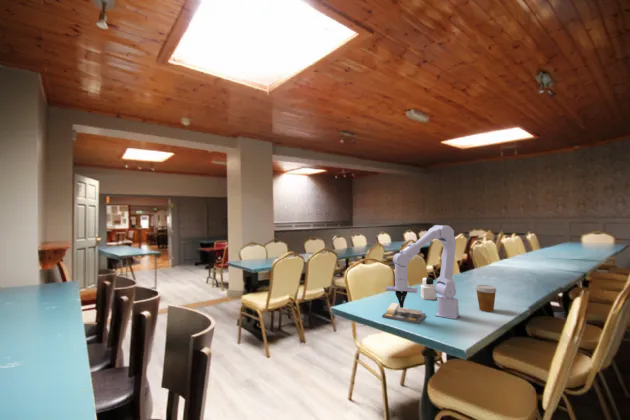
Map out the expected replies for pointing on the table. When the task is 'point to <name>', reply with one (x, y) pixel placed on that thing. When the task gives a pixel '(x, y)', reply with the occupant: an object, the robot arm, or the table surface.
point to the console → (405, 316)
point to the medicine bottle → (428, 289)
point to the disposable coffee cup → (486, 297)
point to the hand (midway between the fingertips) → (401, 307)
